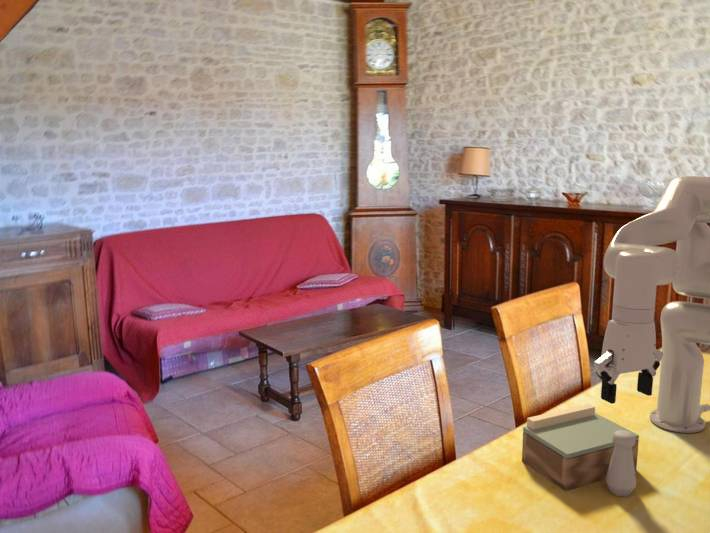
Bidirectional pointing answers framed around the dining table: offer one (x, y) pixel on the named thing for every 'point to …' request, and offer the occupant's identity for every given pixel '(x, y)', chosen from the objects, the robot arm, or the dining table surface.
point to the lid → (573, 430)
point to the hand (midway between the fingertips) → (626, 397)
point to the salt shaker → (622, 465)
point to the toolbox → (569, 463)
